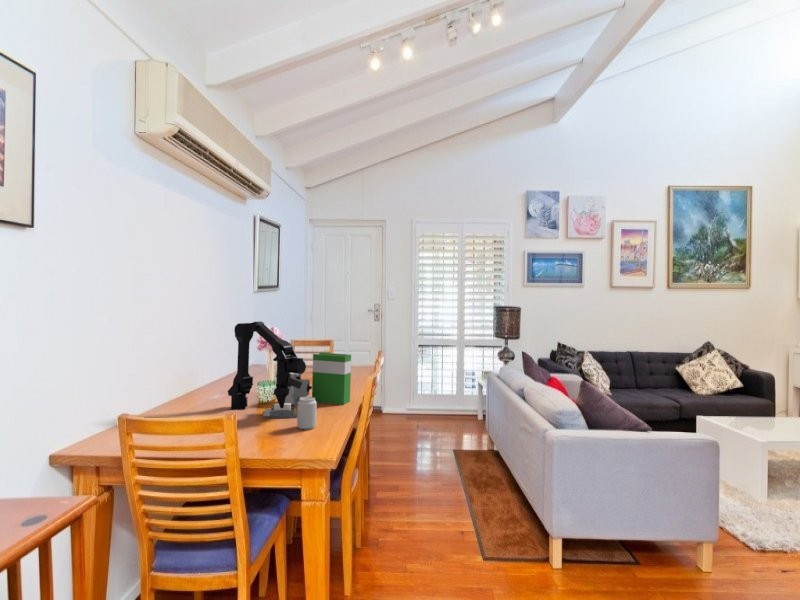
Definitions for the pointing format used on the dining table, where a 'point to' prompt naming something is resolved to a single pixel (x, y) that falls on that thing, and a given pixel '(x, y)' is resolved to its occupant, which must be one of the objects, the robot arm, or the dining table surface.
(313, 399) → the can
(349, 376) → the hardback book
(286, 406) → the white rectangular prism
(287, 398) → the circuit breaker
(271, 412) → the rack
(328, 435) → the dining table surface
